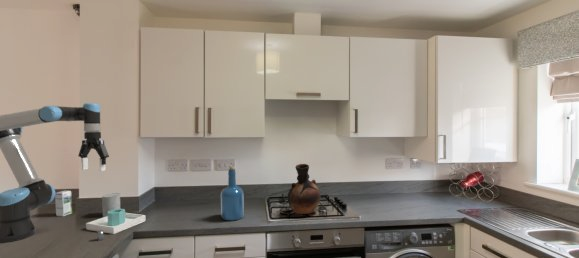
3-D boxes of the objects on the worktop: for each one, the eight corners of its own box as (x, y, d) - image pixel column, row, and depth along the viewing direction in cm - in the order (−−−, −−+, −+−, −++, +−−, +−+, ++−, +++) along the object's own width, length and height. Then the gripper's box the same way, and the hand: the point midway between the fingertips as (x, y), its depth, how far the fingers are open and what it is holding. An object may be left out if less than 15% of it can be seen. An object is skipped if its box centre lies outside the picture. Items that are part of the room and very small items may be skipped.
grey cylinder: (106, 218, 170) (105, 197, 170) (99, 215, 176) (99, 195, 176) (123, 214, 178) (122, 194, 178) (116, 211, 184) (116, 192, 183)
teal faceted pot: (128, 221, 162) (128, 209, 161) (115, 226, 154) (115, 214, 154) (117, 220, 164) (117, 208, 164) (104, 225, 157) (104, 212, 157)
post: (99, 240, 138) (99, 232, 138) (96, 240, 139) (95, 231, 139) (104, 238, 141) (104, 230, 141) (101, 238, 142) (100, 230, 141)
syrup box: (63, 216, 175) (62, 192, 175) (55, 215, 176) (54, 192, 176) (72, 213, 181) (71, 190, 180) (64, 213, 182) (63, 190, 181)
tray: (113, 234, 147) (113, 227, 146) (86, 229, 153) (85, 223, 153) (145, 220, 165) (145, 215, 165) (119, 217, 172) (119, 211, 172)
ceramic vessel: (314, 207, 188) (314, 161, 187) (326, 215, 171) (325, 165, 170) (283, 210, 181) (283, 163, 180) (292, 219, 164) (292, 167, 163)
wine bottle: (235, 222, 161) (234, 169, 160) (216, 219, 167) (215, 167, 166) (248, 215, 173) (247, 165, 172) (230, 212, 179) (229, 164, 178)
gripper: (115, 131, 157) (116, 170, 158) (83, 131, 165) (84, 167, 166) (102, 131, 150) (103, 172, 151) (69, 131, 158) (71, 170, 159)
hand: (93, 170), depth 158 cm, fingers open, 13 cm apart
